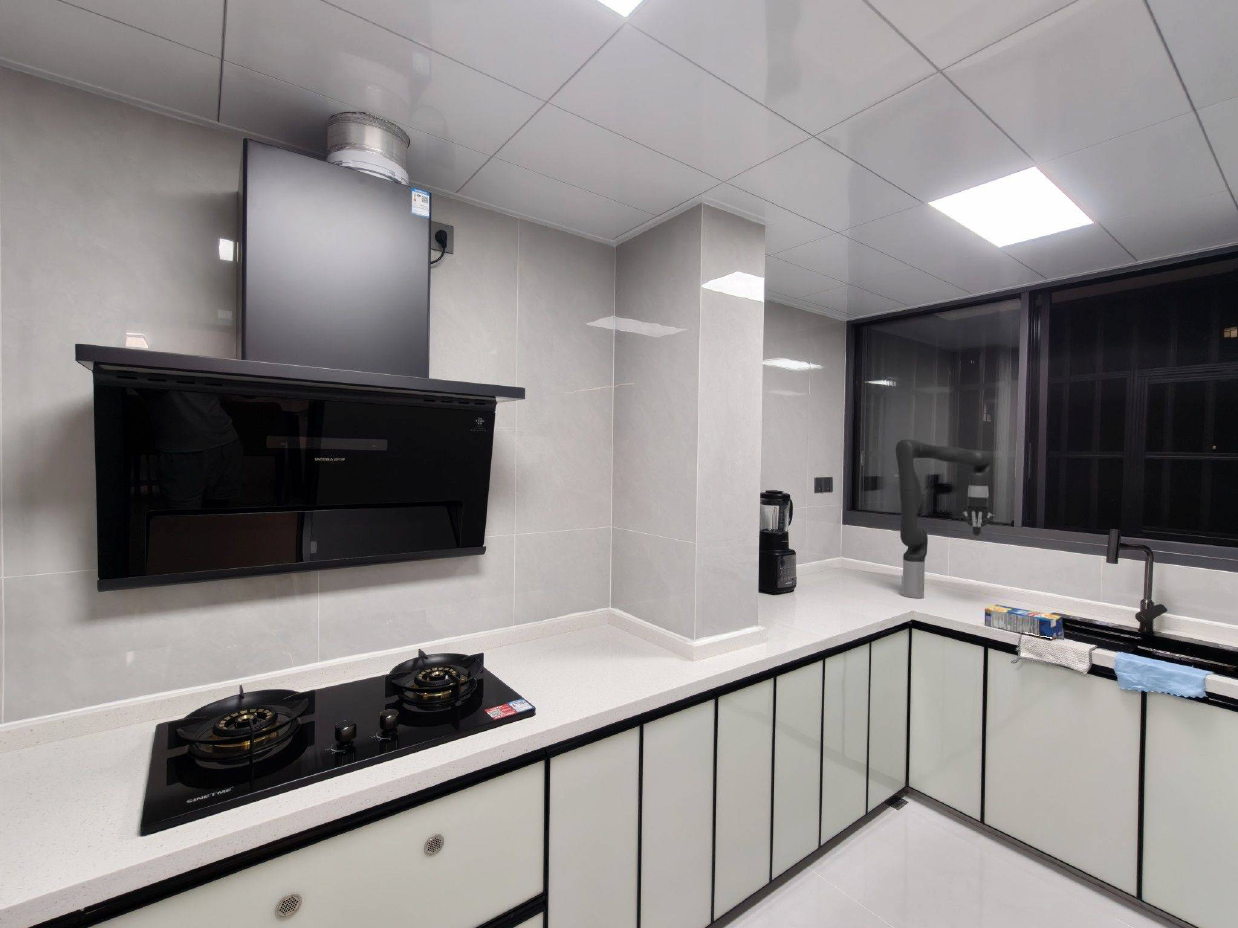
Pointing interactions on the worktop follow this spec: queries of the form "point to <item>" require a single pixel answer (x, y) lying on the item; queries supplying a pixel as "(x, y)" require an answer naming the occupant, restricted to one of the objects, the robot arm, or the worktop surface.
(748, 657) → the worktop surface
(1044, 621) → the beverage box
